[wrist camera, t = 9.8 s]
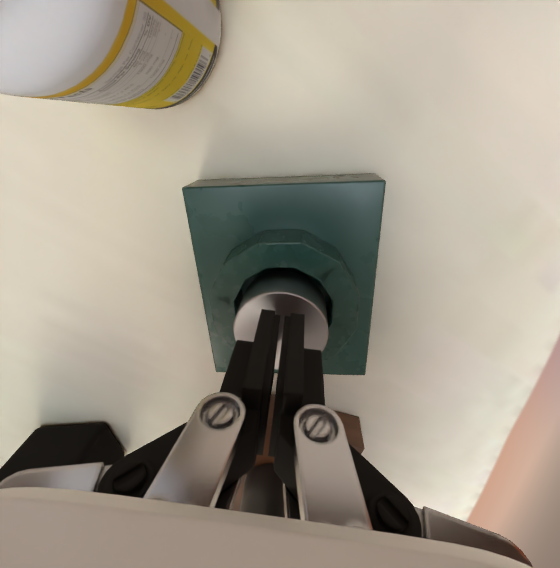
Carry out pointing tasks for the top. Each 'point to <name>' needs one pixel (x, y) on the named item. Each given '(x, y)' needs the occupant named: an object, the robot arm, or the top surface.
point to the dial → (263, 492)
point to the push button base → (290, 252)
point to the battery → (64, 448)
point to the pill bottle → (108, 50)
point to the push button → (283, 308)
